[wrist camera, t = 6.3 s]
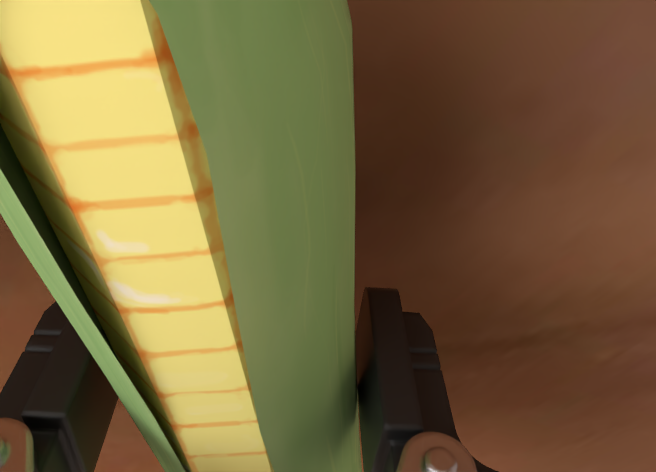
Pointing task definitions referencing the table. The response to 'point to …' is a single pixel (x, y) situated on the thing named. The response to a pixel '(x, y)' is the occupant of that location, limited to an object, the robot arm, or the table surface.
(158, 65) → the edible corn
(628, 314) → the table surface
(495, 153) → the table surface
